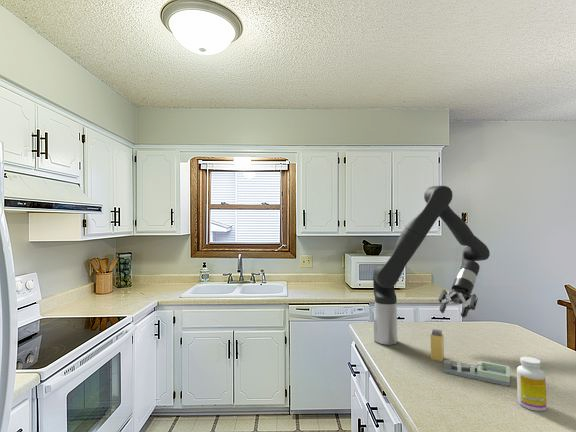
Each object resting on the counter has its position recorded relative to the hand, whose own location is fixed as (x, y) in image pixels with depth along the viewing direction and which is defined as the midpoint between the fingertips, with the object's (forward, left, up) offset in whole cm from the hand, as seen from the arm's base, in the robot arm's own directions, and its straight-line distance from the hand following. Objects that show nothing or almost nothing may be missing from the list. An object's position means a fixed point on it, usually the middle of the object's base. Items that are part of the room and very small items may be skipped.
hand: (451, 314), depth 135 cm
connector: (-4, -11, -15) cm, 19 cm away
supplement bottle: (+24, -33, -15) cm, 43 cm away
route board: (+9, -18, -15) cm, 25 cm away
